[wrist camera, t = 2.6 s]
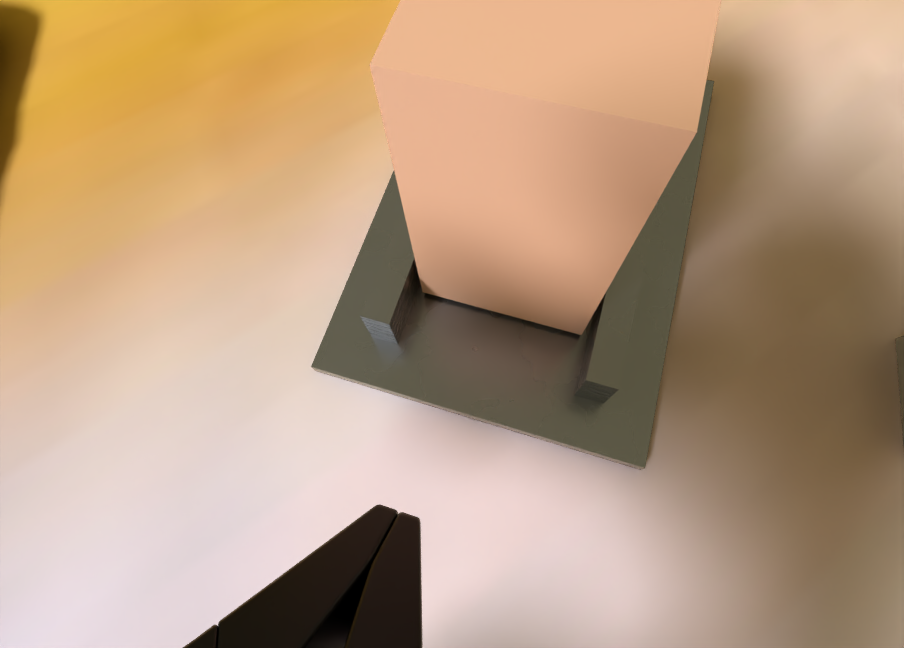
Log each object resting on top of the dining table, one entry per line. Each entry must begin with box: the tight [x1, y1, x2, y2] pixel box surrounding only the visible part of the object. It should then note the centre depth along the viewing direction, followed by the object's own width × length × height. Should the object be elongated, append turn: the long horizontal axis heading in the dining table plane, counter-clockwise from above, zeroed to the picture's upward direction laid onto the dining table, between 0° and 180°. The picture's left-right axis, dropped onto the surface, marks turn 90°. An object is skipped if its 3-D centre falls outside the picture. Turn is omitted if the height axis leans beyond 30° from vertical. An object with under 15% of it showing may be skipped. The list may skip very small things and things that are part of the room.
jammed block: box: [370, 0, 721, 335], centre depth 18 cm, size 7×7×12 cm
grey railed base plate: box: [311, 80, 714, 470], centre depth 23 cm, size 20×14×3 cm
